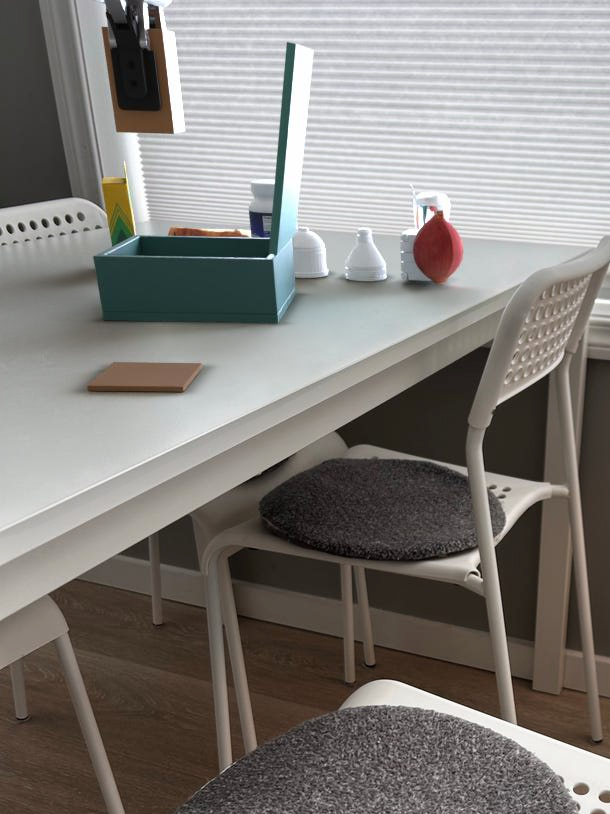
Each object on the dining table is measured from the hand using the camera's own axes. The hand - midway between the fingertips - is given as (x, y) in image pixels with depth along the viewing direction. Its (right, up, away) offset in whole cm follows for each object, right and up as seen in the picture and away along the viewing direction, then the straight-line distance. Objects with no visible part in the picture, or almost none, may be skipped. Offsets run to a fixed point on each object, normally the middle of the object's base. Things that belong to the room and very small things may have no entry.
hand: (148, 107), depth 76 cm
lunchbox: (-2, -8, +22) cm, 23 cm away
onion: (+22, -1, +35) cm, 41 cm away
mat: (+1, -22, -2) cm, 22 cm away
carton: (0, -2, +1) cm, 2 cm away
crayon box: (-17, +3, +41) cm, 44 cm away
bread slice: (-8, +10, +54) cm, 55 cm away
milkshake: (+20, +4, +44) cm, 48 cm away
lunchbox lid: (+8, +4, +15) cm, 18 cm away
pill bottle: (+1, +3, +42) cm, 42 cm away
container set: (+13, +1, +39) cm, 41 cm away
